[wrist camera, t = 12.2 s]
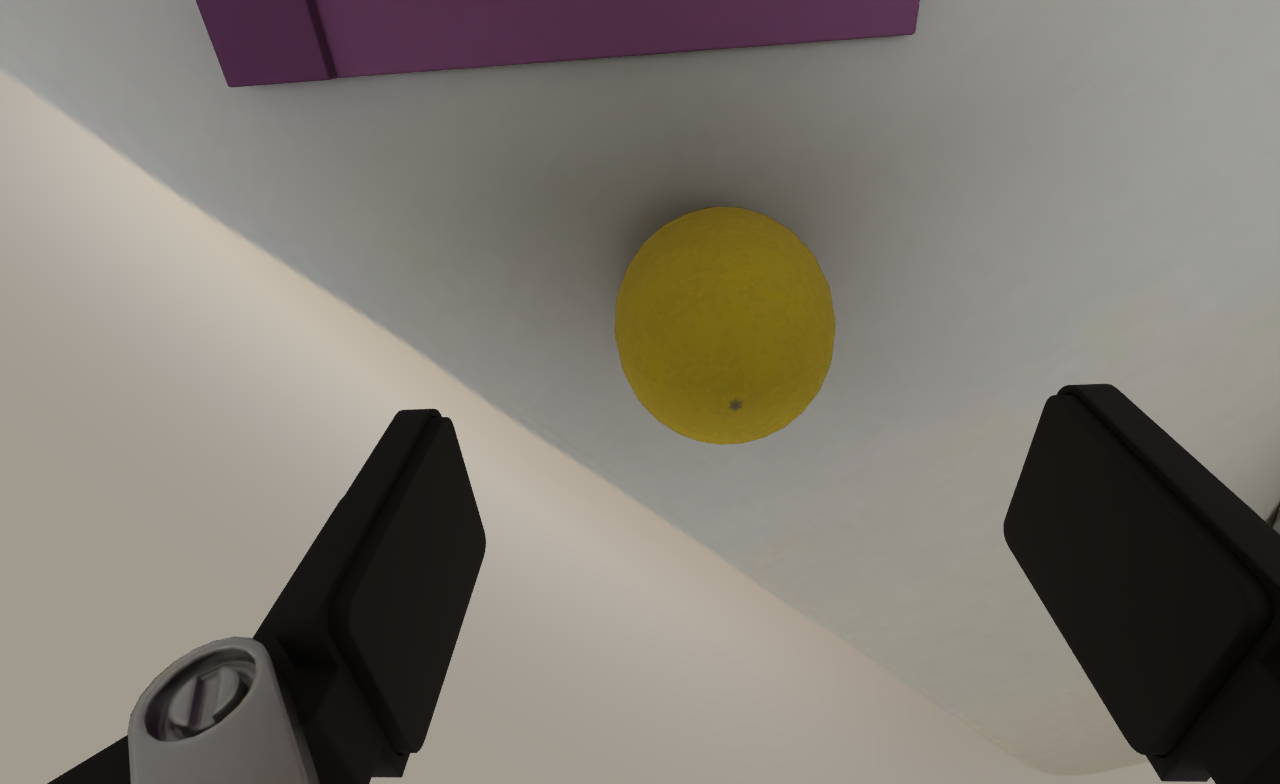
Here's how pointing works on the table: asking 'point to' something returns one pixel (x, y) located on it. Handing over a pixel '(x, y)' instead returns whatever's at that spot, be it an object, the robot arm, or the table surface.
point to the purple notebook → (512, 32)
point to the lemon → (725, 325)
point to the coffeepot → (1277, 523)
